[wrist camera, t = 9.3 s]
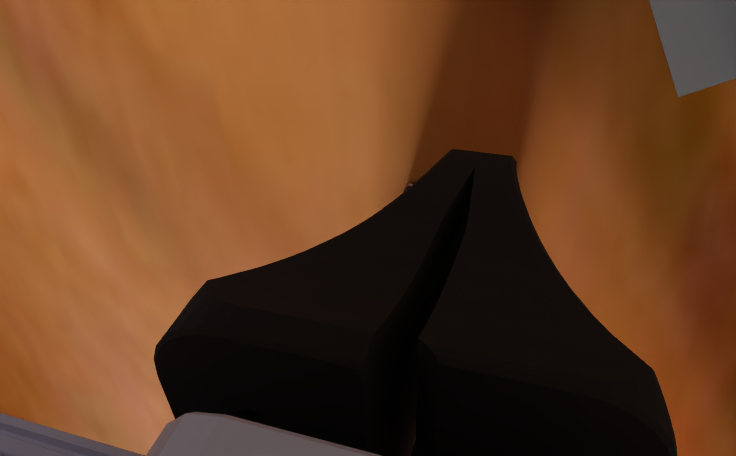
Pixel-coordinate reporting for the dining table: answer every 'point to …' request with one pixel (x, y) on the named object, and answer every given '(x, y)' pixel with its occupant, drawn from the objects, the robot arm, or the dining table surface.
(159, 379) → the robot arm
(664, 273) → the dining table surface
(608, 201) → the dining table surface
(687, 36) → the board
